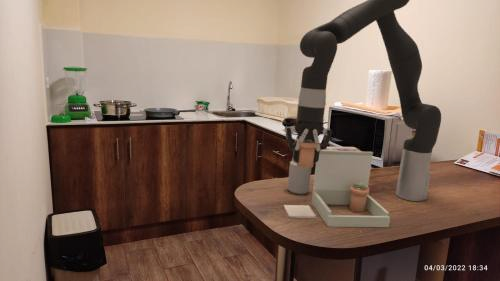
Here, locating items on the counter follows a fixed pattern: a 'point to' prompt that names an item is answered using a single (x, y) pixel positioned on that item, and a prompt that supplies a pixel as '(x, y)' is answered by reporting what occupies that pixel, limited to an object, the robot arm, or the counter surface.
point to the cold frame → (345, 188)
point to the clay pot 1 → (306, 153)
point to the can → (298, 178)
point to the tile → (299, 211)
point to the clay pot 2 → (358, 197)
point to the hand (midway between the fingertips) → (305, 162)
